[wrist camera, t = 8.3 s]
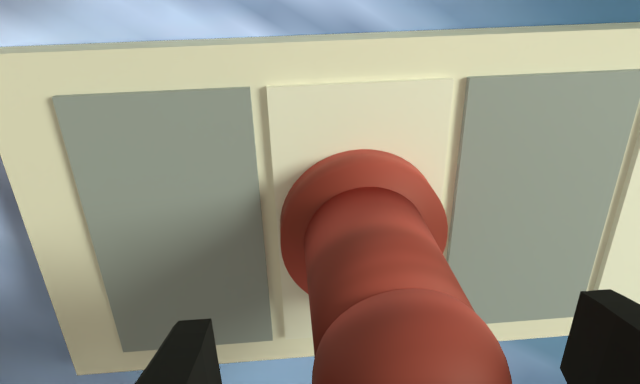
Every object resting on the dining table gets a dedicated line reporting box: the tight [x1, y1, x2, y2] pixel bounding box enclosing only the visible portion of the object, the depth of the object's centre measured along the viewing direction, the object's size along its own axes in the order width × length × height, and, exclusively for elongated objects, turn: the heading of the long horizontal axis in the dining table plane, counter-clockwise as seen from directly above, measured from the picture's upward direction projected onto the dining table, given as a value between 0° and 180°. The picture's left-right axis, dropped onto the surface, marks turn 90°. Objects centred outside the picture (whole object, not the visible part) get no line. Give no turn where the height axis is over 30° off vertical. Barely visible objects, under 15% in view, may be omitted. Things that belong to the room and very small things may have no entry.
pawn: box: [280, 149, 512, 384], centre depth 10 cm, size 4×4×7 cm
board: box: [0, 22, 640, 375], centre depth 14 cm, size 10×28×1 cm, turn 91°
